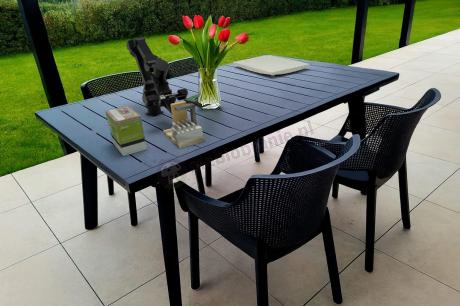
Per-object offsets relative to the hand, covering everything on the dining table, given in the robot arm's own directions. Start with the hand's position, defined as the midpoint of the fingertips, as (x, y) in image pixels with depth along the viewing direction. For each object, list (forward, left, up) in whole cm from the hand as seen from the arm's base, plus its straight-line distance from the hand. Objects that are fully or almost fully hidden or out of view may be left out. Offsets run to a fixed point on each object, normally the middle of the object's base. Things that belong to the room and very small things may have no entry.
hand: (173, 114), depth 152 cm
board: (-18, +115, -8) cm, 117 cm away
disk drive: (-16, +36, -8) cm, 40 cm away
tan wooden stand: (+8, -4, -8) cm, 11 cm away
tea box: (-6, -21, -8) cm, 23 cm away
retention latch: (+8, -4, -6) cm, 10 cm away
